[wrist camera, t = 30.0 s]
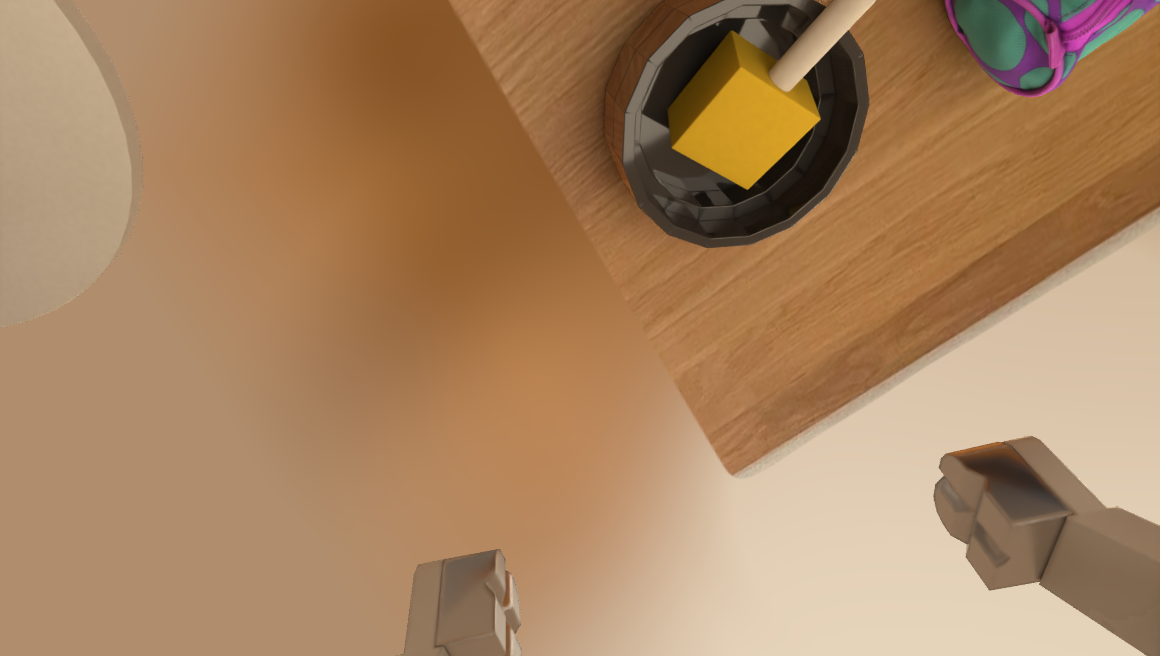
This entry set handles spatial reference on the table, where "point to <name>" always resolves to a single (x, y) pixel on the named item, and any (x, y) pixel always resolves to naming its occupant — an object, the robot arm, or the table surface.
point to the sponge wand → (754, 99)
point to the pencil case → (1038, 36)
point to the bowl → (694, 192)
